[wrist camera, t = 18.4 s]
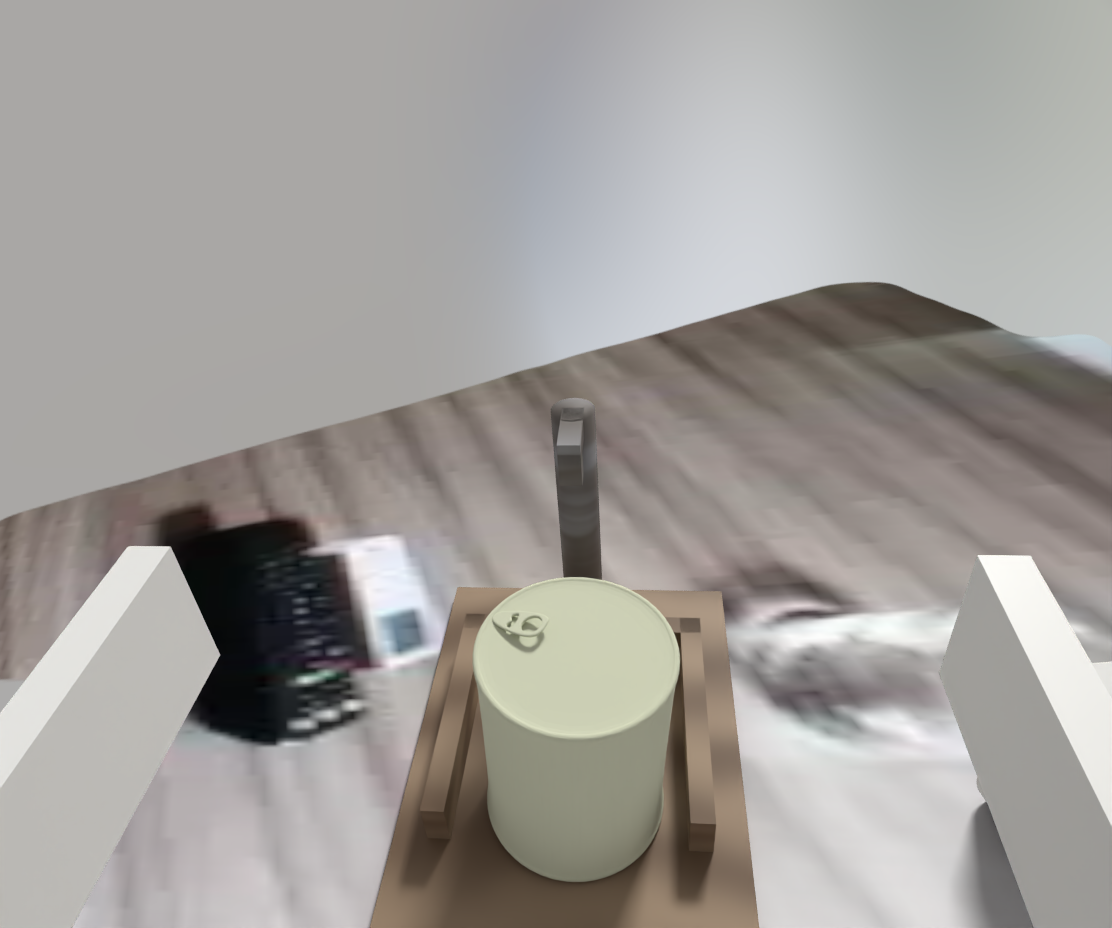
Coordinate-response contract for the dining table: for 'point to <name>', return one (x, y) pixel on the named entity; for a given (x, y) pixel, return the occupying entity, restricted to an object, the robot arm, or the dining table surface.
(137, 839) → the dining table surface
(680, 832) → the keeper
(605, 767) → the can
